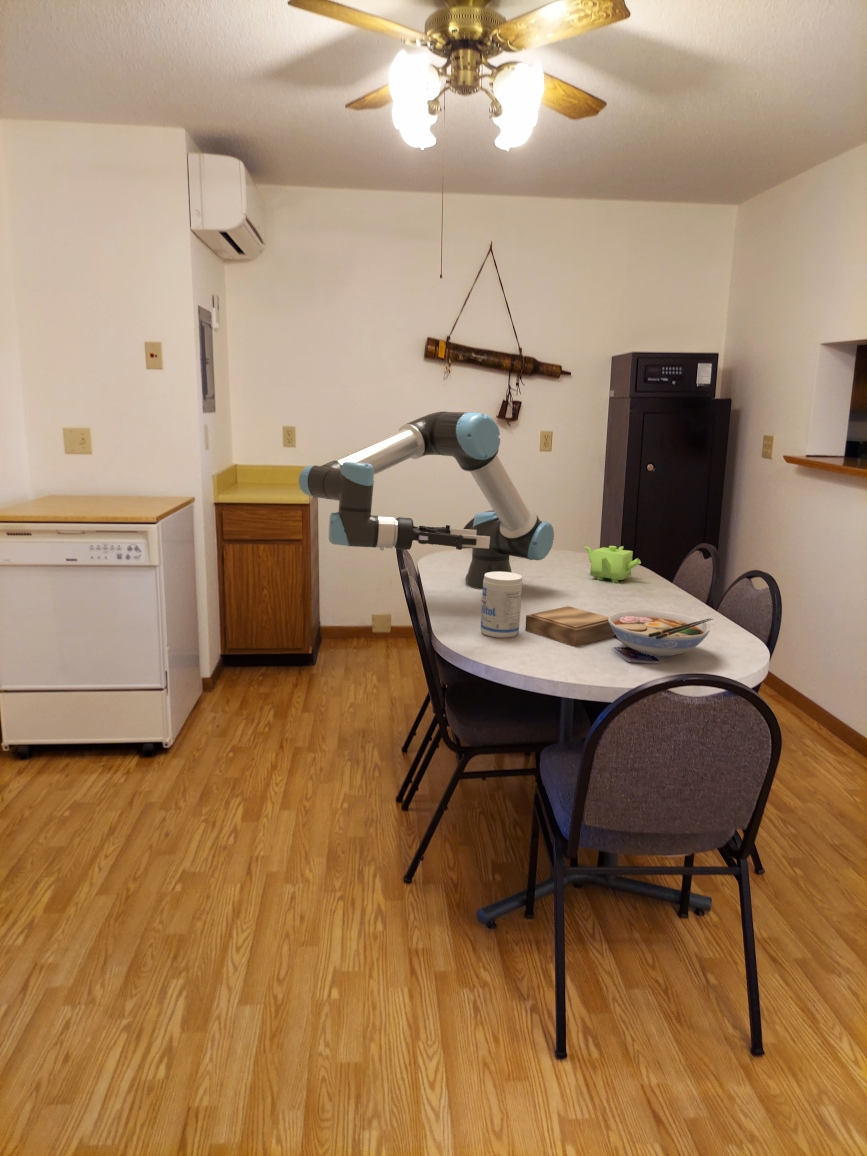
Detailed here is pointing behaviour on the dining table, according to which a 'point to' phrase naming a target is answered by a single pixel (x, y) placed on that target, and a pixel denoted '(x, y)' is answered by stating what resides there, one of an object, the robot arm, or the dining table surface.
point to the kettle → (611, 563)
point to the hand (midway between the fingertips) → (482, 538)
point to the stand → (569, 625)
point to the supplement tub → (501, 604)
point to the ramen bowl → (658, 631)
